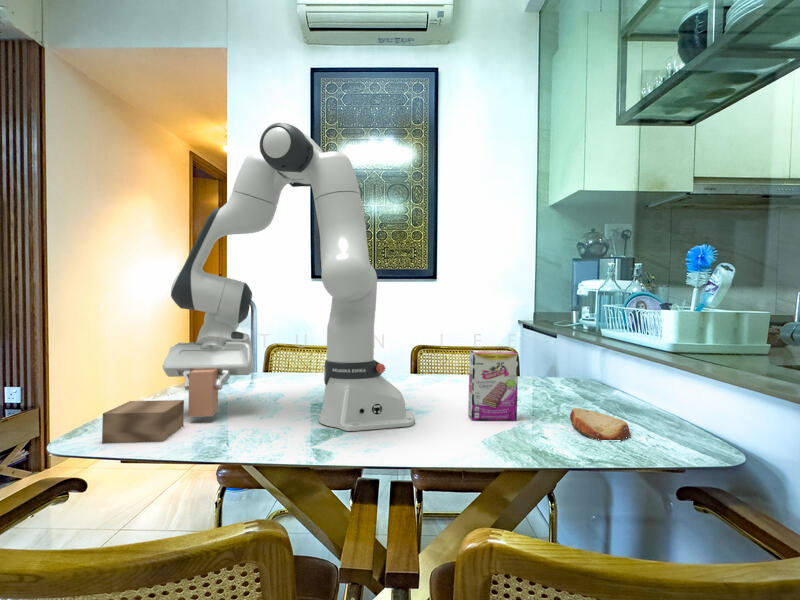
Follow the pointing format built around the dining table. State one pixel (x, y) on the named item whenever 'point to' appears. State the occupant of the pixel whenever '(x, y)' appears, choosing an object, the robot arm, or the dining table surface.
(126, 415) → the walnut block
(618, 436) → the slice of bread
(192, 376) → the terracotta block
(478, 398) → the candy bar box
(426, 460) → the dining table surface
